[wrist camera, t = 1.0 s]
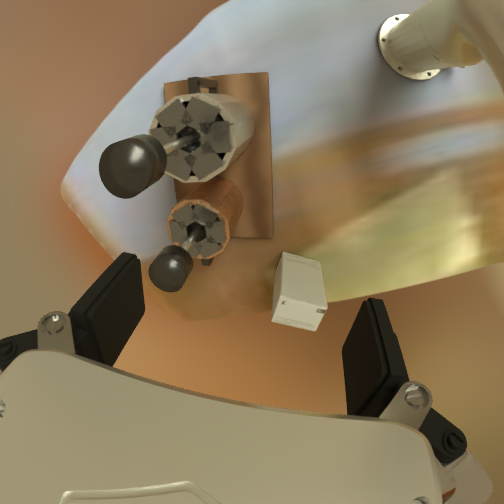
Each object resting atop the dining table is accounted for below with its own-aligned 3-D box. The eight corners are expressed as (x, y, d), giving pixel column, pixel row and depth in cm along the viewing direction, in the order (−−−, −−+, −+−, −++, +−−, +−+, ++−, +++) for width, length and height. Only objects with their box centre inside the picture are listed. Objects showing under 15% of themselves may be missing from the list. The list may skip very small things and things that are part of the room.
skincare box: (274, 273, 61) (267, 322, 48) (283, 248, 58) (277, 295, 45) (313, 284, 61) (314, 334, 48) (323, 260, 58) (328, 308, 45)
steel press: (252, 79, 42) (230, 70, 28) (256, 155, 48) (237, 182, 34) (188, 86, 44) (141, 84, 29) (194, 158, 50) (153, 185, 36)
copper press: (241, 176, 51) (225, 200, 40) (245, 237, 56) (232, 274, 45) (189, 178, 52) (161, 202, 41) (197, 236, 58) (174, 271, 47)
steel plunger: (225, 104, 33) (161, 112, 17) (229, 161, 37) (174, 217, 21) (169, 110, 34) (77, 130, 18) (175, 164, 38) (94, 219, 22)
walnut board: (268, 72, 42) (267, 72, 41) (273, 235, 57) (272, 237, 55) (166, 83, 45) (164, 83, 44) (184, 233, 59) (182, 236, 58)
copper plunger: (221, 203, 44) (187, 252, 31) (224, 241, 47) (196, 301, 34) (181, 203, 45) (135, 251, 32) (186, 240, 48) (148, 296, 35)
